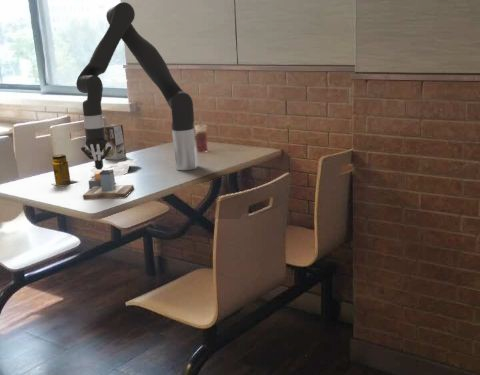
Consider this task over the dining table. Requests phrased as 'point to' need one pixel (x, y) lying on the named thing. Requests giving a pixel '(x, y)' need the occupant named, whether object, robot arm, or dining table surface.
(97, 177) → the button
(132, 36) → the robot arm
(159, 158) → the dining table surface
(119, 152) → the coffee box
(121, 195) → the drawing board
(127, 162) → the paper
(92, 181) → the button housing
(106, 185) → the grey rectangular box
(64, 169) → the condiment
